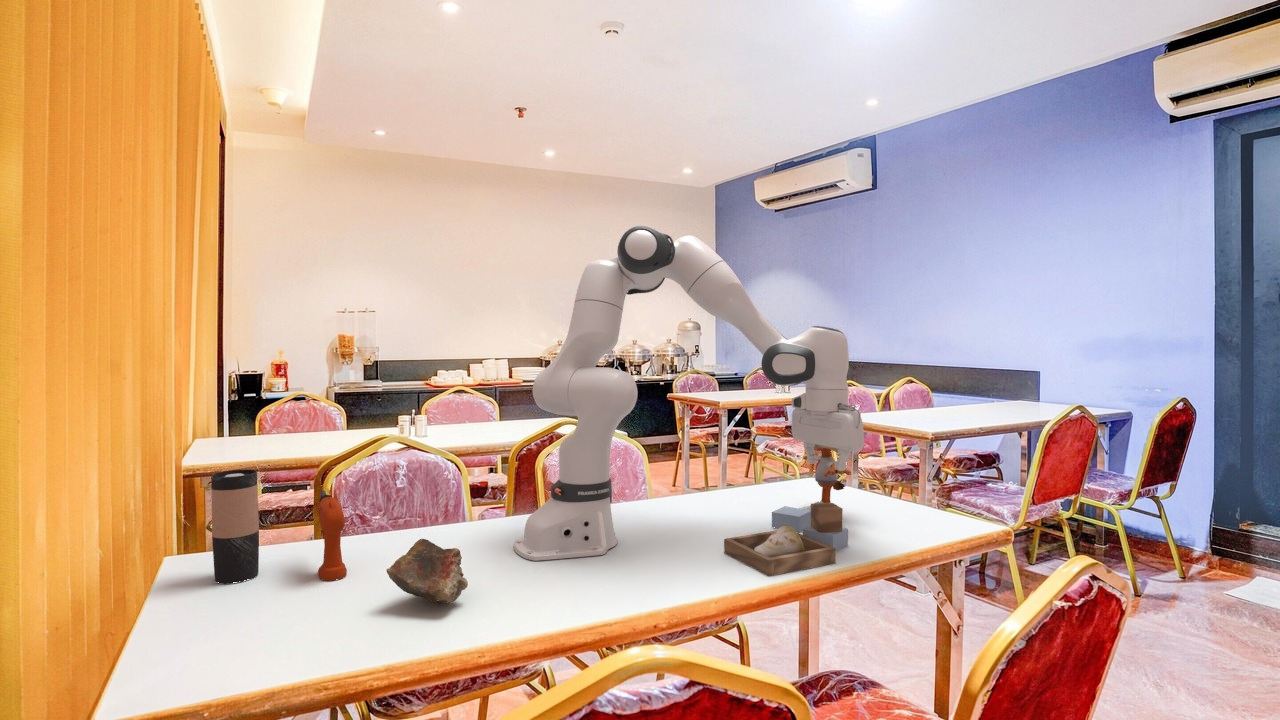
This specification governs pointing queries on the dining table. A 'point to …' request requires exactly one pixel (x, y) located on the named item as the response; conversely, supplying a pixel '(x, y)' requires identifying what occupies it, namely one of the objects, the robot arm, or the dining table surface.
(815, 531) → the base block
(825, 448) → the toy
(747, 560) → the wooden tray
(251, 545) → the travel mug
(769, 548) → the beige rounded lump
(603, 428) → the robot arm
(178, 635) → the dining table surface
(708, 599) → the dining table surface
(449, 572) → the rock
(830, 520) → the walnut block
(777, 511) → the far block
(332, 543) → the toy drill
